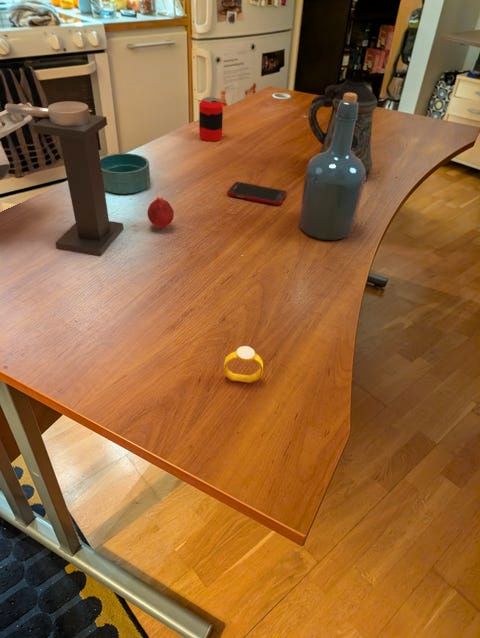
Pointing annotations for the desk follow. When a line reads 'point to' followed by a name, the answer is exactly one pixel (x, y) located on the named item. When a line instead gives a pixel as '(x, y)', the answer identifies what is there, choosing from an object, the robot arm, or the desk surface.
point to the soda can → (210, 119)
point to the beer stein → (362, 124)
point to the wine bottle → (334, 181)
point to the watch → (246, 356)
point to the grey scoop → (56, 112)
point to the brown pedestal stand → (84, 186)
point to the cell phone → (257, 193)
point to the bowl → (125, 173)
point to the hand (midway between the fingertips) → (16, 114)
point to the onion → (160, 213)
